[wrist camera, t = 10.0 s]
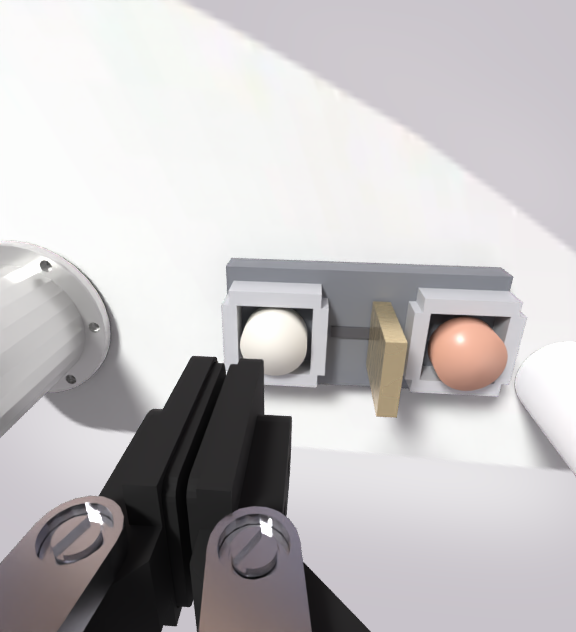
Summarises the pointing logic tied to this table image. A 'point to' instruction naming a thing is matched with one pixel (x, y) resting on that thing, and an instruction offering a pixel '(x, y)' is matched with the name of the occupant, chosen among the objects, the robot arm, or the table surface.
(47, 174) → the table surface
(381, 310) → the thick plank
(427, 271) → the panel
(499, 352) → the terracotta button
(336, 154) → the table surface
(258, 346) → the cream button
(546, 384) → the can
